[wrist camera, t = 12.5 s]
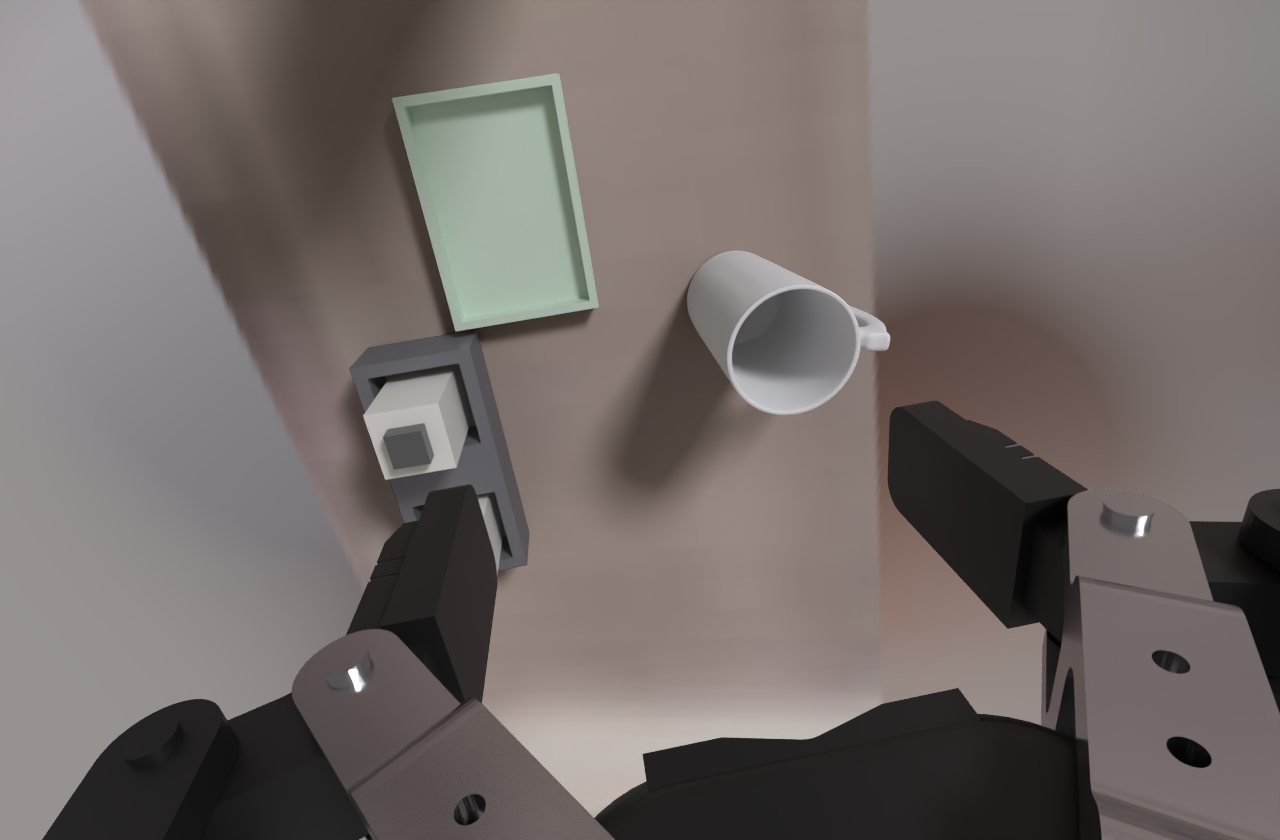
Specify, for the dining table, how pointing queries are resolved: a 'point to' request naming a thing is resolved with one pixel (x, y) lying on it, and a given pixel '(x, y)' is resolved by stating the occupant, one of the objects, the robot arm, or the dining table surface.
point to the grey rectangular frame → (484, 440)
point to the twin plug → (492, 523)
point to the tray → (500, 199)
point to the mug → (778, 332)
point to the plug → (419, 421)
